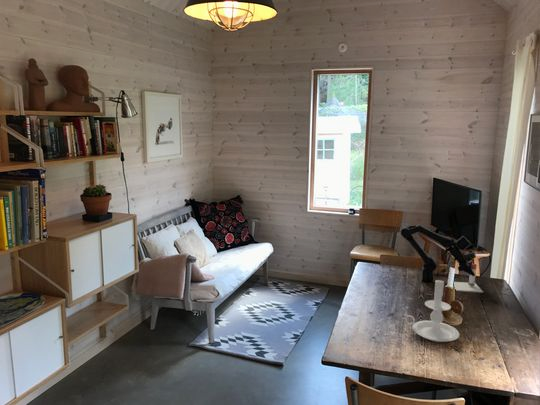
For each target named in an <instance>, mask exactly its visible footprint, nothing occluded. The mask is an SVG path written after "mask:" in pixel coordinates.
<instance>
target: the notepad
mask: <svg viewBox="0 0 540 405" xmlns="http://www.w3.org/2000/svg"><path fill="white" fill-rule="evenodd" d="M453 282H454V287H455V289H456V291H455V292H463V293H479V294H484V292H485V291H484V290H482V289H481V287H480V286H478V284H477V283H476V282H475V286H470V285H468V283H469V282H463V281H462V282H461V281H453Z"/></svg>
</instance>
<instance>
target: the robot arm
mask: <svg viewBox="0 0 540 405" xmlns="http://www.w3.org/2000/svg"><path fill="white" fill-rule="evenodd" d="M416 233H421V234H423V235H425V236H427V237H428V238H430V239H433V240H434V241H436V242H437V243H439V244H440V245H441V246H442V247H444V249H445V253H449V254H450V255H451V256H452V257H453V261H456V262H457V263H458V266H457V270H458V271H459V272H465V273H467V274H468V275H469V276H470V275H472V276H475V277H476V275H475V274H474V272H473V271H472V269H471V264H473V261H472V260H474V259H476V257H477V255H476V252H475V250H474V251H473V249H470V250H468V252H467V253H465V252H462V250H466V249H467V248H469V246H471V245H472V243H471V242H470V240H468V239H467V238H466V236H464V235H462V236H460V238H458V239H457V240H456V239H452V238H450V237H449V236H446V235H443V234H439V233H437V232H435V231H433V230H431V229H429V228H426V227H425V226H423V225H422V224H420V223H419V224H415V225H409V226H406V225H403V226H402V227H401V228H400V235H401V237H403V238H404V239H405V240H406V241H407V242H409V244H410V245H411V246H412V247H413V249H414V250H415V251H416V252H417V254H418V256H420V258H421V259H422V261H423V263H424V264H423V265H422V266H421V267H422V270H421V275H420V278H419V279H420V280H421V282H422V283H434V272H435V271H436V270H435V269H436V261H437V260H436V259H434V257H433V256H432V255H428V254H427V253H426V251H425V250H424V248H423V247H422V246H421V245H420V243H419V242H418V240H416V238H415V236H414V234H416Z"/></svg>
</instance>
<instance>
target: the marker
mask: <svg viewBox="0 0 540 405" xmlns="http://www.w3.org/2000/svg"><path fill="white" fill-rule="evenodd" d="M471 269H472V271H473V272H474V274H475V276H472V275H470V274H469V277H468V278H469V280H468V282H467V283H468V285H470V286H475V283H476V282H475V281H476V275H477V263H476V264H475V263H472V264H471Z"/></svg>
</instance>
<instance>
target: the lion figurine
mask: <svg viewBox="0 0 540 405" xmlns="http://www.w3.org/2000/svg"><path fill="white" fill-rule="evenodd" d="M435 261H436V269H435V270H434V273H435V275H436V274H438V273H439V272H438V271H439V270H445V272H444V274H447V273H448V272H450V270H449V268H450V269H451V266H450V265H448V264H442V263H440V262H439V261H437V260H435Z"/></svg>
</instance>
